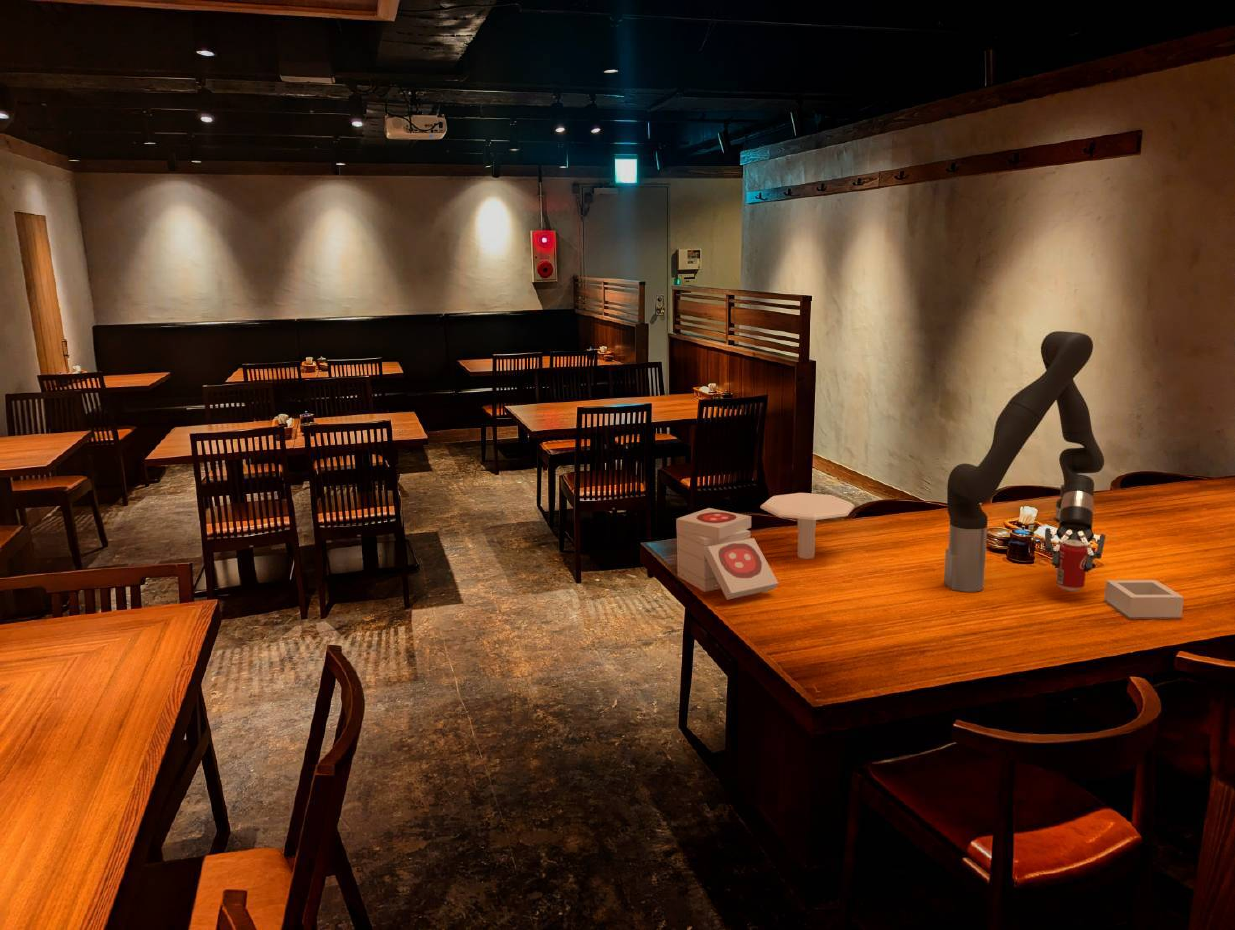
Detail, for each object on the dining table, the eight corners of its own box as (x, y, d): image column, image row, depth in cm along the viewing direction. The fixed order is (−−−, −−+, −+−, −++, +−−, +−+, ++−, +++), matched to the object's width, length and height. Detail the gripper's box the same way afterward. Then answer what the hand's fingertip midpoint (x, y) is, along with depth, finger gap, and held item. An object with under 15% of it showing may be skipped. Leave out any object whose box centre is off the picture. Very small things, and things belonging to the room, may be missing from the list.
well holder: (1129, 619, 203) (1131, 597, 202) (1104, 600, 215) (1106, 580, 214) (1181, 618, 202) (1183, 597, 201) (1153, 600, 214) (1155, 579, 213)
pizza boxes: (725, 608, 217) (725, 541, 214) (668, 574, 244) (667, 514, 240) (785, 595, 225) (786, 530, 222) (724, 564, 252) (724, 505, 248)
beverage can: (1087, 592, 212) (1092, 546, 210) (1060, 591, 214) (1064, 545, 211) (1079, 583, 218) (1083, 539, 216) (1052, 582, 220) (1057, 538, 217)
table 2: (817, 578, 237) (818, 521, 234) (740, 556, 258) (740, 503, 254) (872, 555, 255) (874, 502, 252) (797, 537, 276) (797, 487, 272)
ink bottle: (1051, 522, 284) (1054, 487, 281) (1055, 516, 291) (1058, 482, 288) (1084, 526, 278) (1087, 491, 276) (1087, 520, 285) (1090, 485, 283)
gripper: (1046, 501, 221) (1040, 557, 214) (1109, 508, 215) (1105, 566, 207) (1045, 516, 227) (1039, 571, 219) (1106, 522, 220) (1103, 579, 213)
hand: (1071, 568), depth 213 cm, fingers closed on beverage can, 6 cm apart
